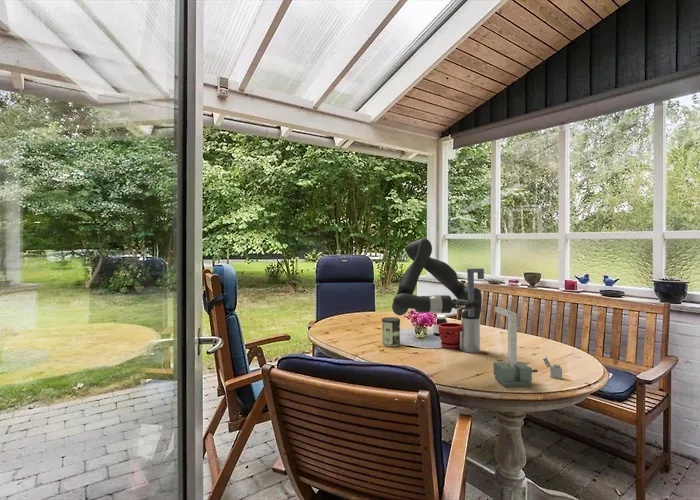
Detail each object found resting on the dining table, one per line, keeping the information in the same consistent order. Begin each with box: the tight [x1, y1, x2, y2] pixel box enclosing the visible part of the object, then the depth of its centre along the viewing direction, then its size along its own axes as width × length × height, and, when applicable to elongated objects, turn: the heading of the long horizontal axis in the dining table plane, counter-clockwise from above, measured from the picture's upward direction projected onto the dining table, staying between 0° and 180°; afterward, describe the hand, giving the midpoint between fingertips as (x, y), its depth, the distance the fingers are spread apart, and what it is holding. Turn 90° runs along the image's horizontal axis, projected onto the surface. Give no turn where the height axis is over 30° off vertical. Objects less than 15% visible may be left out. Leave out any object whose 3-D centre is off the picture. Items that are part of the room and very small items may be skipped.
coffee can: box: [381, 316, 401, 347], centre depth 200 cm, size 10×10×14 cm
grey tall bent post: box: [493, 306, 538, 388], centre depth 147 cm, size 16×18×28 cm
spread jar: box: [432, 314, 450, 336], centre depth 219 cm, size 12×11×12 cm
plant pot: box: [438, 322, 461, 349], centre depth 194 cm, size 13×13×12 cm
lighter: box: [542, 355, 563, 380], centre depth 148 cm, size 7×2×8 cm, turn 57°
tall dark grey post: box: [466, 268, 485, 317], centre depth 153 cm, size 6×2×20 cm, turn 91°
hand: (478, 304), depth 153 cm, fingers closed on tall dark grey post, 2 cm apart
